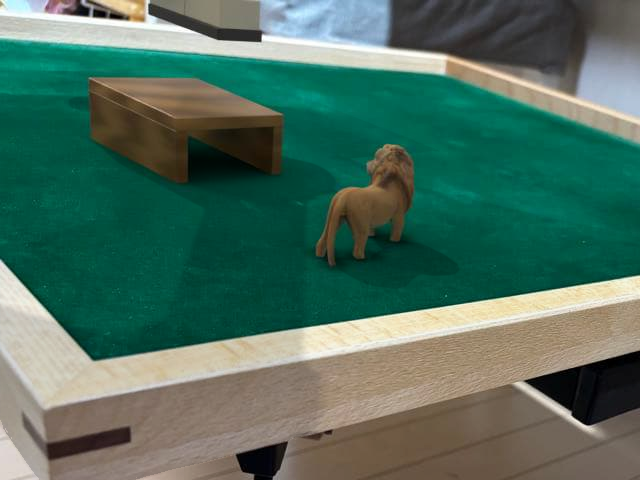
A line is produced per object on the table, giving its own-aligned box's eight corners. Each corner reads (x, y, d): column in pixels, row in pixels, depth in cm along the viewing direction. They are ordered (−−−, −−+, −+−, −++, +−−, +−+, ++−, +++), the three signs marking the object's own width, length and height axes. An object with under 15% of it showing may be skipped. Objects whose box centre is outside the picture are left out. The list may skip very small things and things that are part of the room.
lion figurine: (365, 228, 85) (374, 134, 81) (417, 241, 85) (429, 148, 80) (301, 274, 72) (308, 165, 68) (362, 289, 72) (373, 181, 67)
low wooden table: (91, 149, 90) (87, 77, 87) (196, 144, 99) (196, 77, 96) (176, 195, 83) (176, 118, 80) (280, 184, 92) (284, 114, 89)
